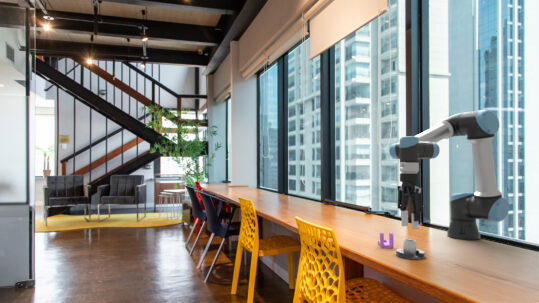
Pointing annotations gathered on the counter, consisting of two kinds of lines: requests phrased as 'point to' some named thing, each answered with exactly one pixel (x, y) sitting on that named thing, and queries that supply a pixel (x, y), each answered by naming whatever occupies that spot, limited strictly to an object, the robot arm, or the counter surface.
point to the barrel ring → (410, 254)
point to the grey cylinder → (409, 246)
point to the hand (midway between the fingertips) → (409, 227)
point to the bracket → (386, 241)
